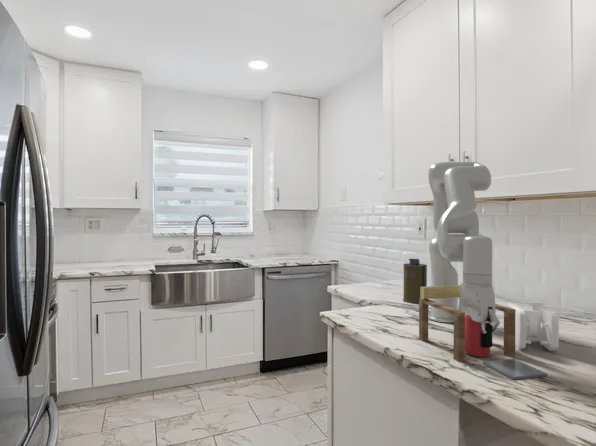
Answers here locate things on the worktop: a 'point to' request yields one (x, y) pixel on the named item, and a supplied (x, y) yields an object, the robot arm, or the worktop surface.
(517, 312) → the cable organizer
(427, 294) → the bar
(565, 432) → the worktop surface
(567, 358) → the worktop surface
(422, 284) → the canister
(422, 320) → the frame
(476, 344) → the beer can
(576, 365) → the worktop surface
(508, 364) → the coaster
